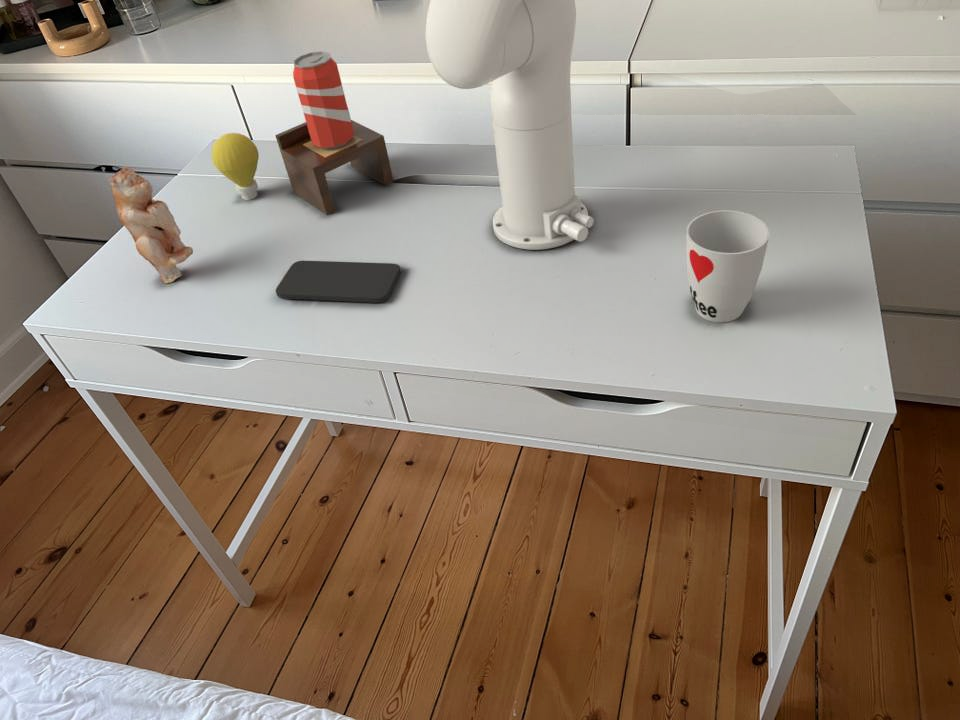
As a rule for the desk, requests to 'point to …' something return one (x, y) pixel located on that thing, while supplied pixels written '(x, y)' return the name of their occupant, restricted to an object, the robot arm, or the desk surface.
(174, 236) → the figurine
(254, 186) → the light bulb
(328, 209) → the miniature wooden desk
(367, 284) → the phone
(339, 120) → the beverage can
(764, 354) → the desk surface
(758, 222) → the cup
